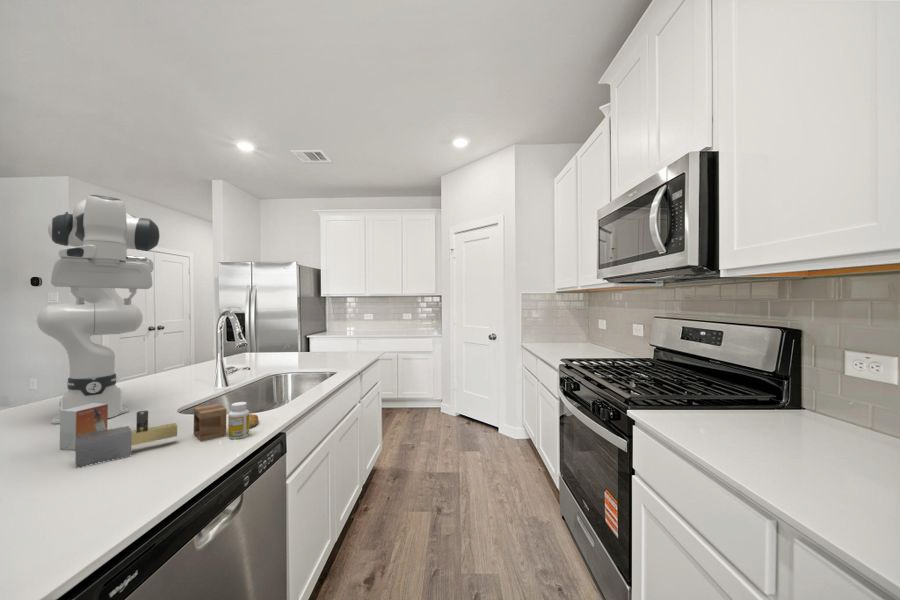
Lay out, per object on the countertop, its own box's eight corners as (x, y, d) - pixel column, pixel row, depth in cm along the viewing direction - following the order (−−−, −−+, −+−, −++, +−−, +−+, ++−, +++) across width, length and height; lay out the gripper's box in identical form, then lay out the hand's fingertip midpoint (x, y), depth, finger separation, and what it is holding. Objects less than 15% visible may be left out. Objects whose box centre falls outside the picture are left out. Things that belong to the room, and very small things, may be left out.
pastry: (242, 420, 125) (242, 409, 125) (263, 420, 126) (263, 409, 126) (229, 430, 116) (229, 418, 116) (252, 429, 117) (252, 417, 117)
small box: (74, 451, 98) (75, 411, 99) (58, 449, 100) (59, 410, 100) (108, 440, 106) (108, 403, 106) (92, 438, 107) (93, 402, 108)
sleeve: (75, 460, 93) (75, 435, 93) (128, 449, 100) (128, 426, 100) (76, 468, 88) (76, 441, 88) (131, 455, 96) (131, 431, 96)
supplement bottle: (241, 431, 114) (241, 400, 114) (253, 434, 112) (253, 402, 112) (224, 437, 109) (224, 404, 109) (236, 440, 107) (236, 406, 107)
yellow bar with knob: (75, 453, 92) (76, 421, 92) (175, 433, 106) (175, 405, 106) (76, 457, 90) (76, 424, 90) (177, 436, 104) (177, 407, 104)
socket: (193, 434, 111) (193, 407, 111) (218, 429, 116) (218, 403, 116) (200, 441, 106) (200, 413, 106) (226, 435, 111) (226, 408, 111)
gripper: (151, 259, 111) (151, 305, 111) (51, 251, 97) (50, 304, 96) (155, 256, 107) (154, 304, 107) (51, 248, 92) (50, 304, 92)
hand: (104, 304), depth 101 cm, fingers open, 8 cm apart
